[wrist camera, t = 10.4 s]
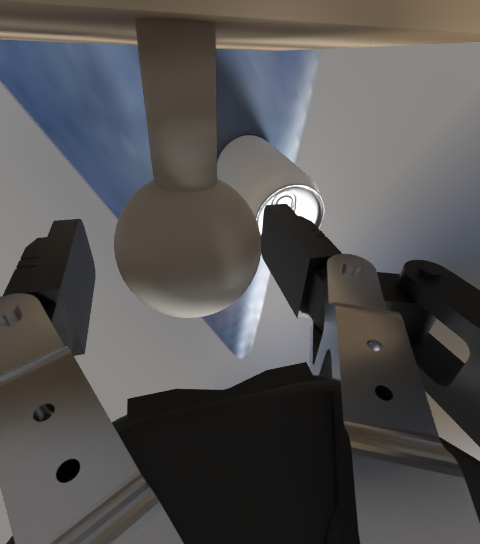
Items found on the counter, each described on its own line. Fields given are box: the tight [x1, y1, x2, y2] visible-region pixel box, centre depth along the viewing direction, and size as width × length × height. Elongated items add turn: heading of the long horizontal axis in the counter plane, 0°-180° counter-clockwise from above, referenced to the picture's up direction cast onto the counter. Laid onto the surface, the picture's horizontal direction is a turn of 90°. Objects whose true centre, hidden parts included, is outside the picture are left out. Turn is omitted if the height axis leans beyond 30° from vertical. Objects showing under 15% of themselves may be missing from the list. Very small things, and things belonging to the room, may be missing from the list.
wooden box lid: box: [0, 0, 480, 318], centre depth 12 cm, size 16×14×7 cm
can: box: [217, 135, 325, 237], centre depth 29 cm, size 6×6×12 cm
